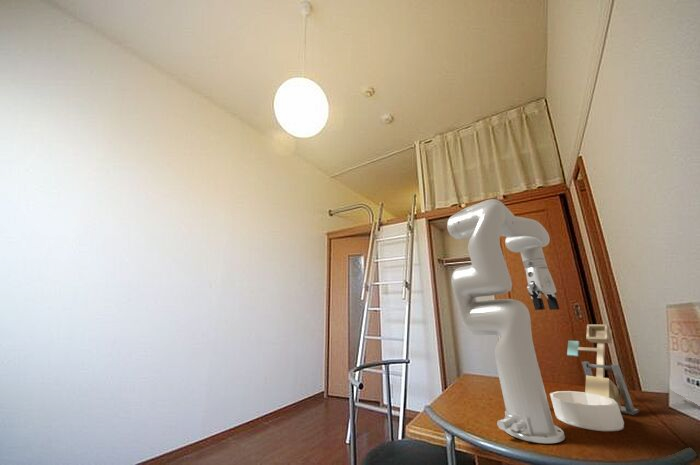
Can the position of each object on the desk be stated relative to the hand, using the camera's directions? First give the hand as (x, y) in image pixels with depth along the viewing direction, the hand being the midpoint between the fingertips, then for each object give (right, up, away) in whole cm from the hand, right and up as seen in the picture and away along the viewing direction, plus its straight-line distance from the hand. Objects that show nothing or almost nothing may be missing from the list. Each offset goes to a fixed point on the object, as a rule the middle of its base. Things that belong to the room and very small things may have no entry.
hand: (547, 309), depth 96 cm
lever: (+4, -14, -14) cm, 21 cm away
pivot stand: (+2, -22, -22) cm, 32 cm away
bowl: (-12, -21, -29) cm, 38 cm away
